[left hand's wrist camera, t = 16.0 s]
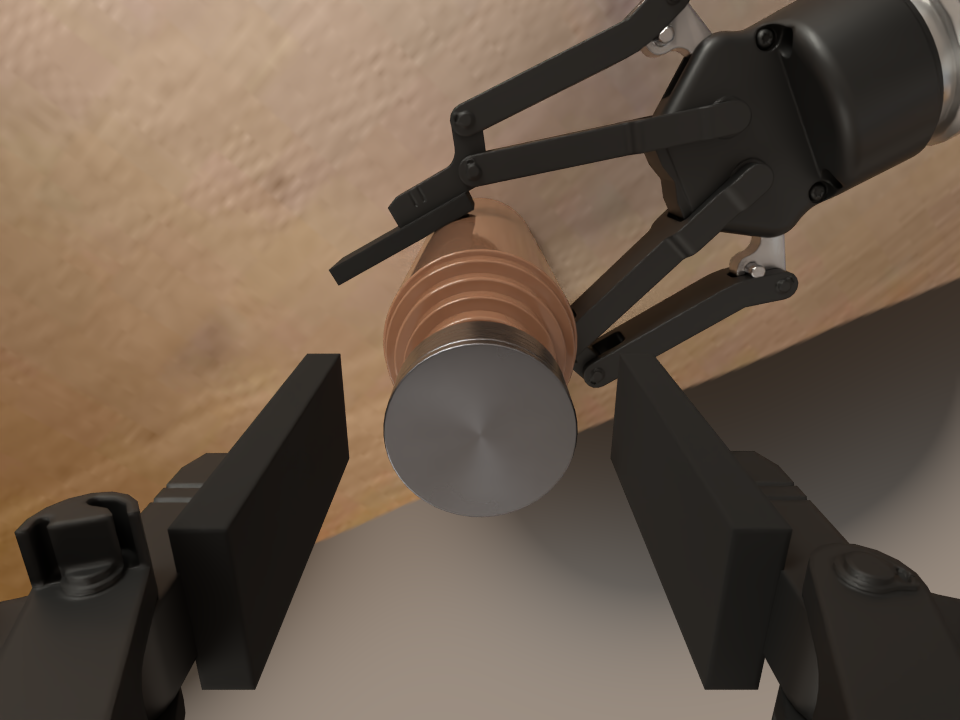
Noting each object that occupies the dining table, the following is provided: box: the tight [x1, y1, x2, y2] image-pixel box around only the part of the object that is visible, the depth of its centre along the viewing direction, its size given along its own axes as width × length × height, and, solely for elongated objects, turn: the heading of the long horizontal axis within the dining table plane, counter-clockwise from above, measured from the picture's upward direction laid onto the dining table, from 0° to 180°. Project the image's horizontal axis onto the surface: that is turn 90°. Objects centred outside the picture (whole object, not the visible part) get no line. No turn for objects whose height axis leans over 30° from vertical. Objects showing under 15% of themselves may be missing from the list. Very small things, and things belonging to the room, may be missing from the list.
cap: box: [384, 321, 577, 517], centre depth 14 cm, size 4×4×2 cm
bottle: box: [383, 198, 577, 386], centre depth 23 cm, size 6×6×21 cm
